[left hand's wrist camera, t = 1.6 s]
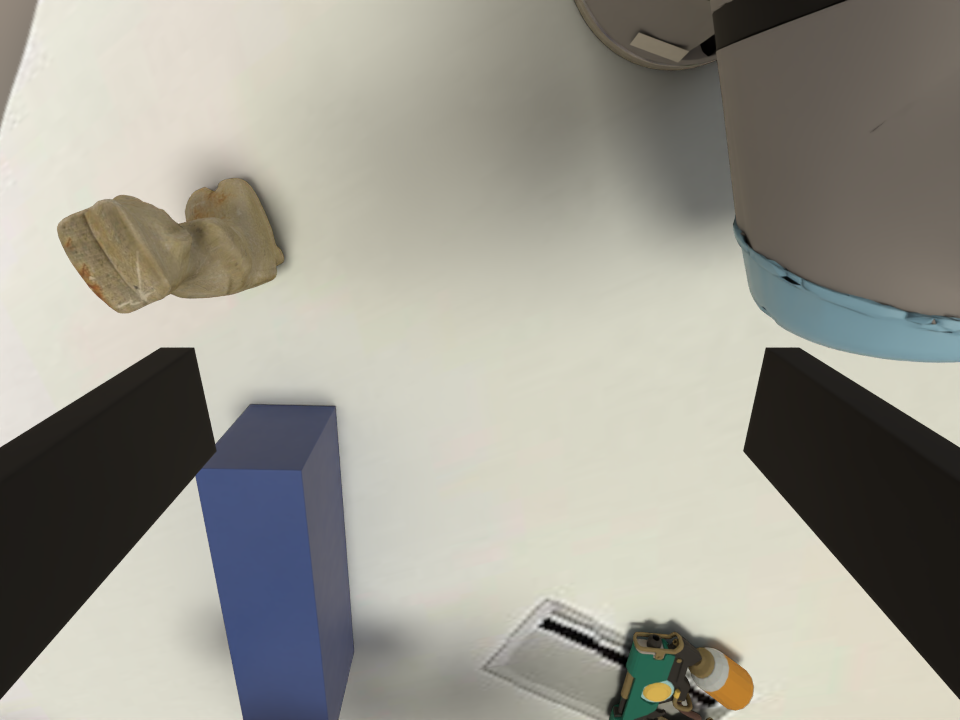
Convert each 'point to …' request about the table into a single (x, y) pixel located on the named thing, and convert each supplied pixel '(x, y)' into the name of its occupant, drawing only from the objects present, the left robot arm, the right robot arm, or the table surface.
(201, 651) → the table surface
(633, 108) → the table surface
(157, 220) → the sculpture
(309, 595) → the box
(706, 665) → the spray gun
